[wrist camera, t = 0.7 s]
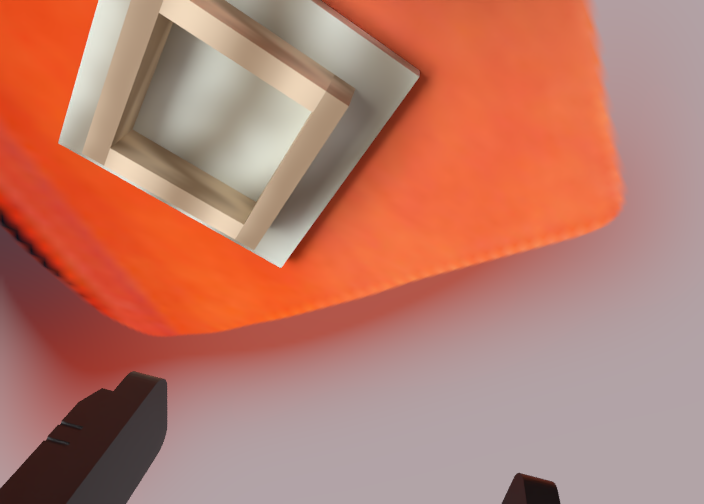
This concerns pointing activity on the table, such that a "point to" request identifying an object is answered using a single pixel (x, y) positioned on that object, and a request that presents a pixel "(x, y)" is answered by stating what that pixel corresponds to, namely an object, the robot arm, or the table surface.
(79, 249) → the table surface
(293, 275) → the table surface
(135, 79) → the square collar plate
